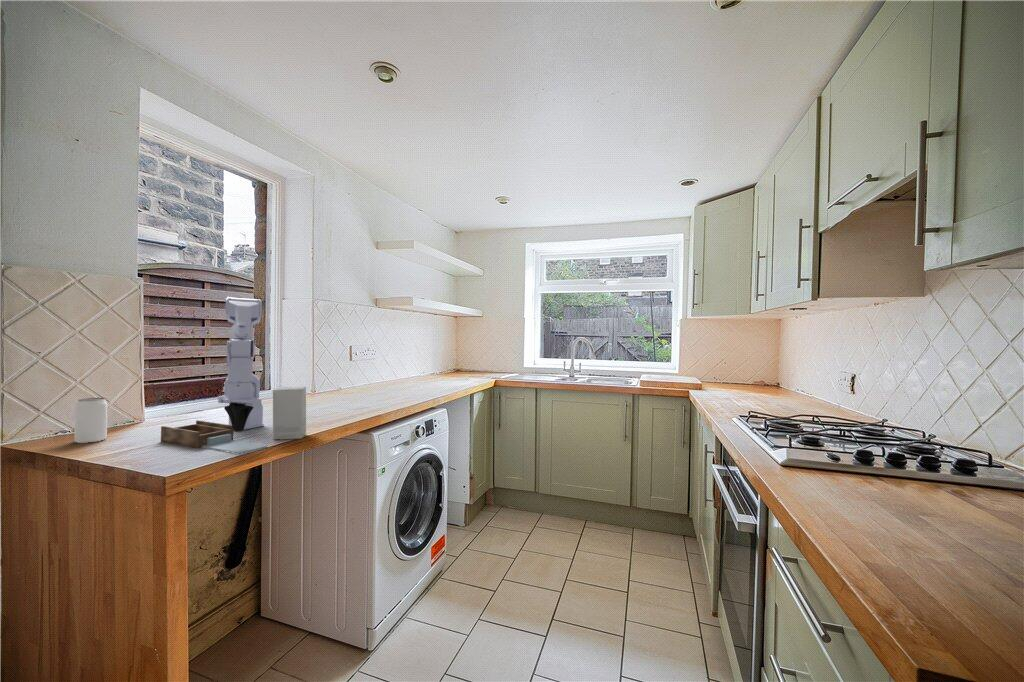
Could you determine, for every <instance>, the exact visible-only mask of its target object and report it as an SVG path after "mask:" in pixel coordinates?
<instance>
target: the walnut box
mask: <svg viewBox="0 0 1024 682" xmlns="http://www.w3.org/2000/svg"><path fill="white" fill-rule="evenodd" d="M195 422H196V423H192V424H186V425H183V426H182V425H181V426H175V427H170V426H166V425H161V426H160V442H162V443H167V444H173V445H177V446H178V445H179V446H184V447H189V448H195V449H201V448H202V446H203V445H207V438H209V437H214V436H219V435H224V434H231V440H234V432H235V431H234V430H233V427H232V425H229V424H225V423H218V422H212V421H205V420H198V419H197V420H196V421H195Z"/></svg>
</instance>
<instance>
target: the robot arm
mask: <svg viewBox="0 0 1024 682" xmlns="http://www.w3.org/2000/svg"><path fill="white" fill-rule="evenodd" d="M262 305H263V300H262V299H260V298H258V299H255V298H243V297H241V298H239V297H231V296H227V298H225V309H224V310H225V317H226V319H227V322H229V323H231V324H232V326H231V327H230V332H229V340H227V342H226V348H225V349H226V353H225V354H226V356H225V357H226V359H227V362H226V363H227V367H228V368H227V377H226V379H225V383H224V392H223V393H224V394H223V395H219V396H218V397H217V403H218V404H228V405H225V406H224V407H223V408H224V410H225V412H226V413H227V415H228V425H232V427H233V430H234V432H242V431H245V430H248V429H249V430H250V429H255V428H259V427H264V426H265V424H264V423H263V420H264V419H263V417H264V407H263V404H262V399H261V398H260V378H259V376H258V375H256V374H254V373H253V360H254V358H255V354H256V353H255V351H256V350H255V346H256V342H255V338H254V332H255V331H254V330H255V329H254V325H256V324H259V323H260V322H261V320H262V313H263V312H262V311H263V306H262ZM251 357H252V358H251Z"/></svg>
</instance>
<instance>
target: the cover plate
mask: <svg viewBox="0 0 1024 682" xmlns="http://www.w3.org/2000/svg"><path fill="white" fill-rule="evenodd" d="M202 447H203V449H207V448H208V450H212V449H215V450H214V451H218V450H223V451H229V452H234V453H238V454H237V455H242V454H241V453H243V454H246V452H247V453H250V451H251V452H254V451H257V450H258V451H259V450H262V449H266V448H268V445H264V444H259V443H252V442H248V441H243V440H236V439H233V440H231V434H224V435H219V436H214V437H209V438H207V445H203V446H202ZM202 447H201V448H202ZM223 451H222V452H223ZM234 453H233V454H234Z"/></svg>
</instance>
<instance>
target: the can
mask: <svg viewBox="0 0 1024 682" xmlns="http://www.w3.org/2000/svg"><path fill="white" fill-rule="evenodd" d="M106 400H107V399H106V397H87V398H79V399H77V403H76V404H75V407H74V409H75V411H74V437H73V438H74V440H73V441H74V442H75V443H76V442H77V443H76V444H89V443H88V442H94V443H98V442H97V441H99V442H102V441H101V440H103V441H105V440H106V439H107V435H108V402H107V401H106ZM104 439H105V440H104Z"/></svg>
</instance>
